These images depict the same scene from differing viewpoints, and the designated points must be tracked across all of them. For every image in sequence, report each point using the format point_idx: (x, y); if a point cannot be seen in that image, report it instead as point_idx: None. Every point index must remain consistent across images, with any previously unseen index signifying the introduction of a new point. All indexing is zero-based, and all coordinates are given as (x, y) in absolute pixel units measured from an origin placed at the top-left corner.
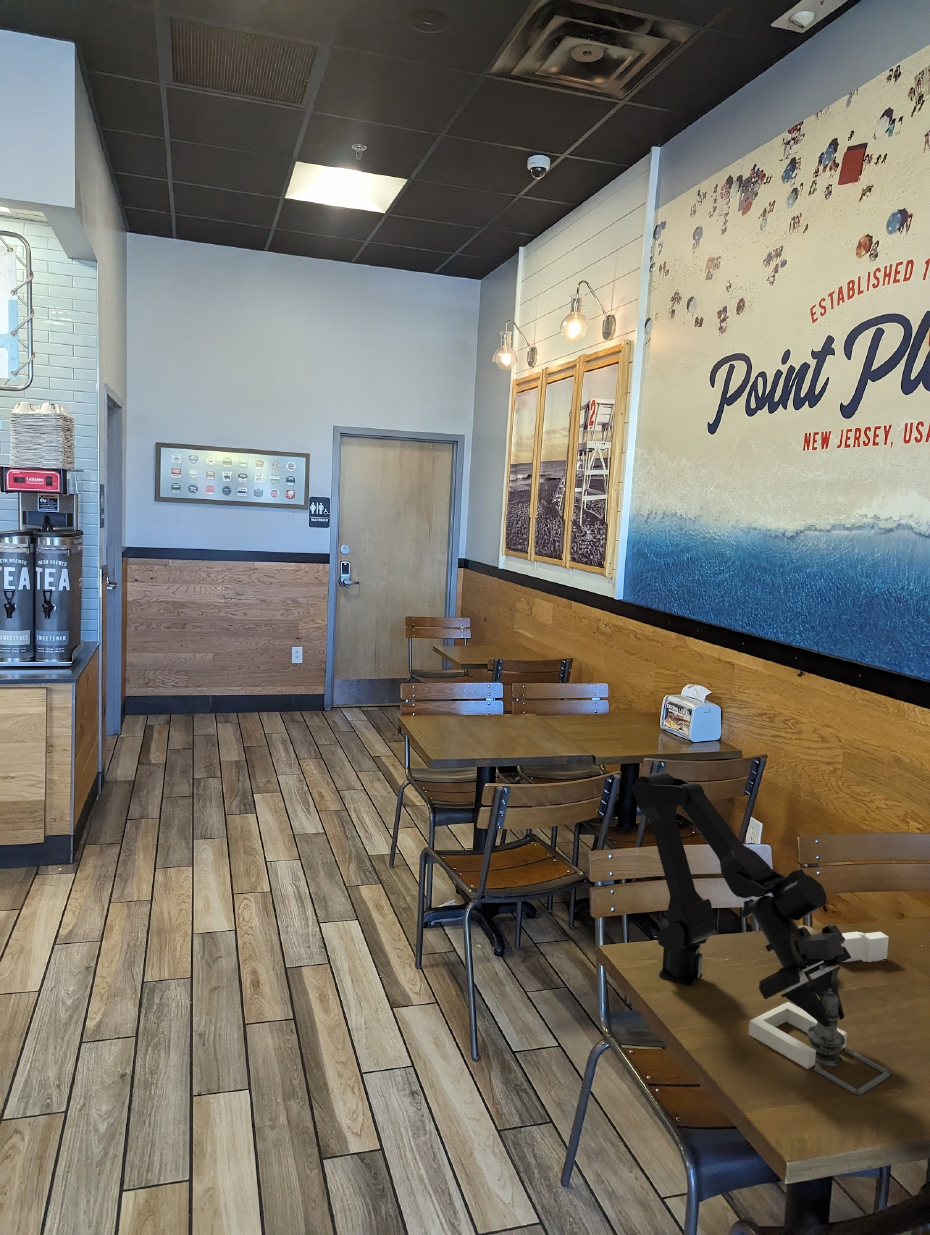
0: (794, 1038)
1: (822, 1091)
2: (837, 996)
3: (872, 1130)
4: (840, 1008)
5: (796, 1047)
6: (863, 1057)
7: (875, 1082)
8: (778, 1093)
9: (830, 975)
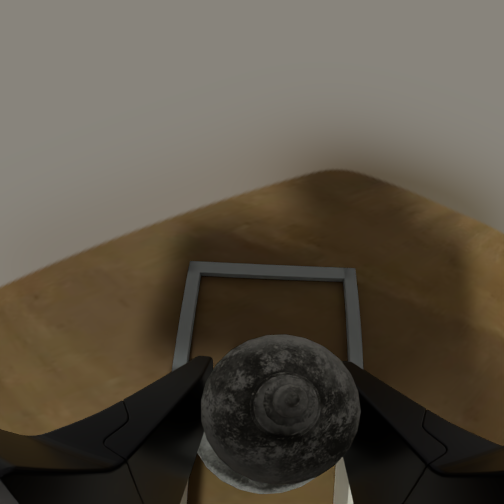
0: (350, 495)
1: (417, 330)
2: (237, 352)
3: (414, 210)
4: (192, 374)
5: None
6: (179, 338)
7: (272, 266)
8: (500, 374)
9: (61, 486)
